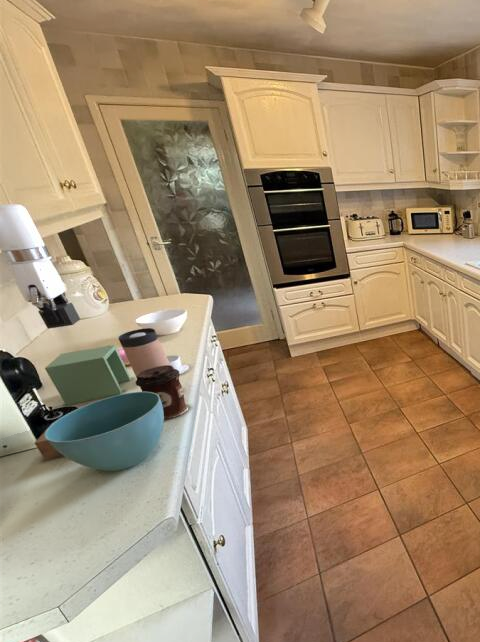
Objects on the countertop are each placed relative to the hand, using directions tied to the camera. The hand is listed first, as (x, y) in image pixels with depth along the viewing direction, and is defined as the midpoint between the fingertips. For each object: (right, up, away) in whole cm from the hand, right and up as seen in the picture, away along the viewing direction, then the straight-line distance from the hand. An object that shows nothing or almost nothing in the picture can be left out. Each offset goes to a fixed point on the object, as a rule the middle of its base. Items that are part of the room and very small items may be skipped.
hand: (62, 320), depth 108 cm
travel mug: (+22, -22, +7) cm, 32 cm away
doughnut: (-8, -13, +29) cm, 33 cm away
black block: (0, -1, 0) cm, 1 cm away
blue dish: (+36, -32, -18) cm, 52 cm away
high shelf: (0, -21, +10) cm, 23 cm away
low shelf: (+20, -30, -11) cm, 38 cm away
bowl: (-17, -3, +52) cm, 55 cm away
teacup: (+13, -16, +20) cm, 29 cm away
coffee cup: (+32, -25, -1) cm, 41 cm away
